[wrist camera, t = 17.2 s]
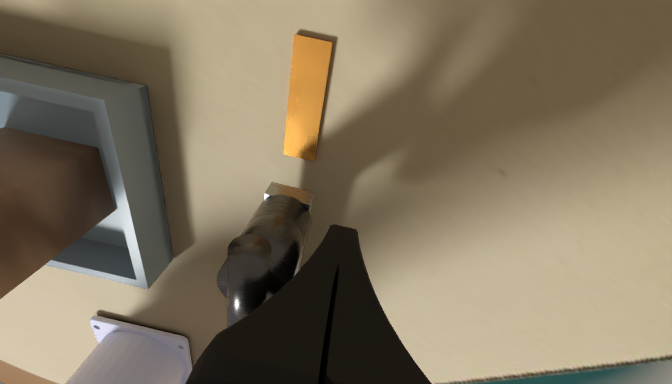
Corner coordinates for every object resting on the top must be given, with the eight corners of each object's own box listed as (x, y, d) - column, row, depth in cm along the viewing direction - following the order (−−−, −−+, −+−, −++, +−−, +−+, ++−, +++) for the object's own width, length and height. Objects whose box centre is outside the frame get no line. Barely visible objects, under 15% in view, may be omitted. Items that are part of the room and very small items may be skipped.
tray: (173, 259, 20) (148, 289, 18) (9, 221, 20) (-35, 246, 18) (146, 85, 14) (104, 100, 12) (-87, 33, 14) (-169, 39, 12)
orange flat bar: (311, 316, 21) (307, 334, 20) (249, 302, 21) (242, 318, 20) (369, 49, 12) (367, 54, 11) (260, 26, 12) (247, 28, 11)
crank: (297, 330, 20) (267, 445, 15) (249, 318, 20) (201, 428, 15) (332, 172, 13) (299, 278, 8) (260, 155, 13) (184, 249, 8)
